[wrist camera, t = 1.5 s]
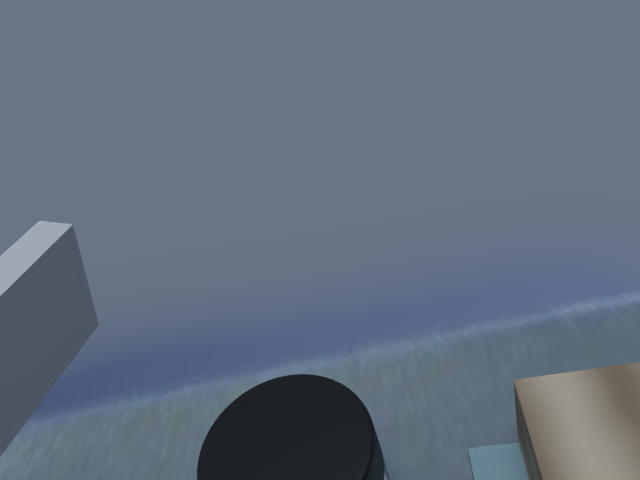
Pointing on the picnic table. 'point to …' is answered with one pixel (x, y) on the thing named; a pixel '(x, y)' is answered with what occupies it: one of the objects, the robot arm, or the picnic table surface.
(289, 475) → the jar
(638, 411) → the base block
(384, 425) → the picnic table surface
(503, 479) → the build board
